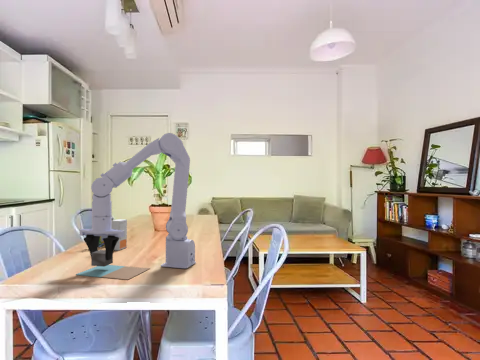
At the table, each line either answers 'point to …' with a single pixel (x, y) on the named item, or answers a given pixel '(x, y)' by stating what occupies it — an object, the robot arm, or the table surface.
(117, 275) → the board
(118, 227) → the skincare box
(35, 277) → the table surface
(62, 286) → the table surface
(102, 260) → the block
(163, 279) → the table surface
